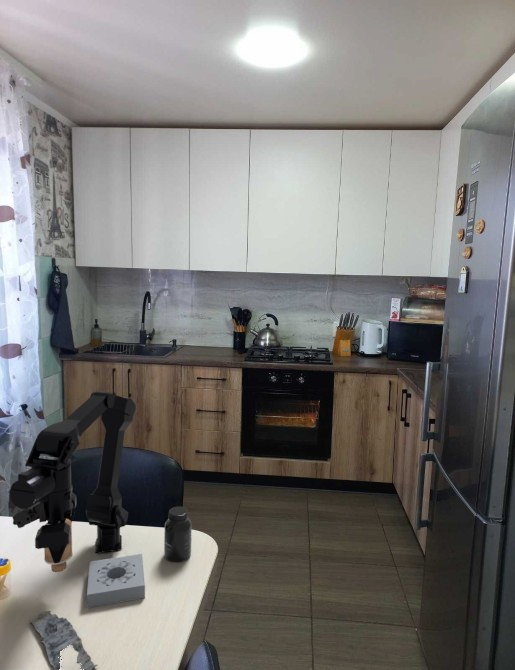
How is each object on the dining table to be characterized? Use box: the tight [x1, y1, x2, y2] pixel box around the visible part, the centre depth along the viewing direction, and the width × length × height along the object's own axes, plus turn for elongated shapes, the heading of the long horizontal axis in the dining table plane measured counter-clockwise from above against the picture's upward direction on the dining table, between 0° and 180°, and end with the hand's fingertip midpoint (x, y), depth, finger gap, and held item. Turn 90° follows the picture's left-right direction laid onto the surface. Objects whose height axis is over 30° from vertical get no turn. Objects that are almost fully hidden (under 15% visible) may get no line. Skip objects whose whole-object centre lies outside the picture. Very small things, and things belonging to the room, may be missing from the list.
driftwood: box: [28, 610, 99, 670], centre depth 86 cm, size 21×7×2 cm, turn 40°
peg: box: [43, 519, 73, 573], centre depth 98 cm, size 6×6×10 cm
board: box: [86, 553, 146, 609], centre depth 103 cm, size 12×12×3 cm
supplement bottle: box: [163, 506, 193, 563], centre depth 115 cm, size 7×7×12 cm
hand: (58, 554), depth 99 cm, fingers closed on peg, 5 cm apart
